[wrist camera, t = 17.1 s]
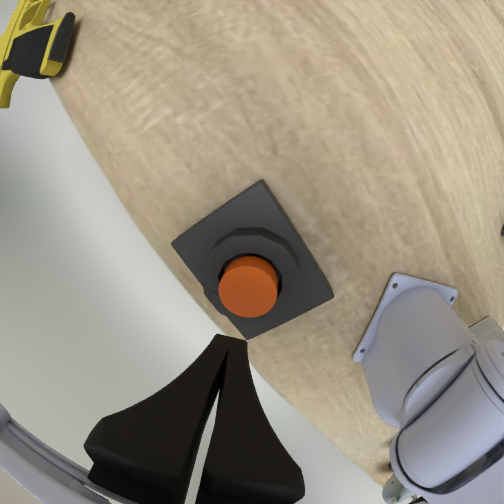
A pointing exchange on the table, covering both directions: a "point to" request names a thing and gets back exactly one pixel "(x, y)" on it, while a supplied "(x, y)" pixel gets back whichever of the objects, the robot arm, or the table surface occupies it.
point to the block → (254, 244)
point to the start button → (249, 287)
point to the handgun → (32, 46)
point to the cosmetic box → (487, 330)
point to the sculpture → (395, 491)
